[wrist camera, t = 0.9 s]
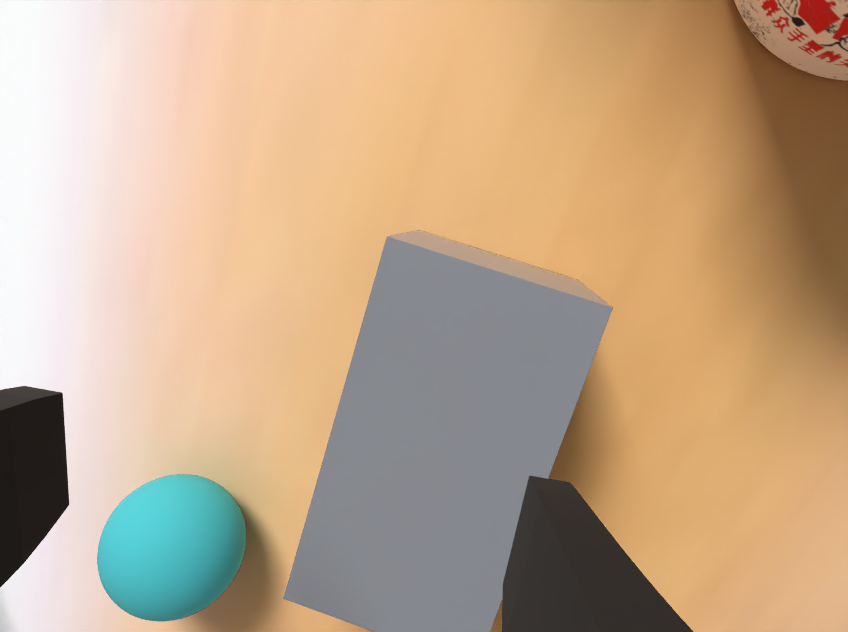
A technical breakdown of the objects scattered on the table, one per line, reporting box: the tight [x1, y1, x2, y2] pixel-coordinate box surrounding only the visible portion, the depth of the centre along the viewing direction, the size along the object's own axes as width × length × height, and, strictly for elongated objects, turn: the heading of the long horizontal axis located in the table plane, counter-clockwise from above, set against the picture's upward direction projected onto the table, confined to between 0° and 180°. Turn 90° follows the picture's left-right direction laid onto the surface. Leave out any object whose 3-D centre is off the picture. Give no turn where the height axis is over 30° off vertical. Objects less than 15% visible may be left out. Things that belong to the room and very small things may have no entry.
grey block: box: [283, 230, 613, 632], centre depth 18 cm, size 11×6×6 cm, turn 163°
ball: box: [97, 474, 246, 621], centre depth 21 cm, size 5×5×5 cm
